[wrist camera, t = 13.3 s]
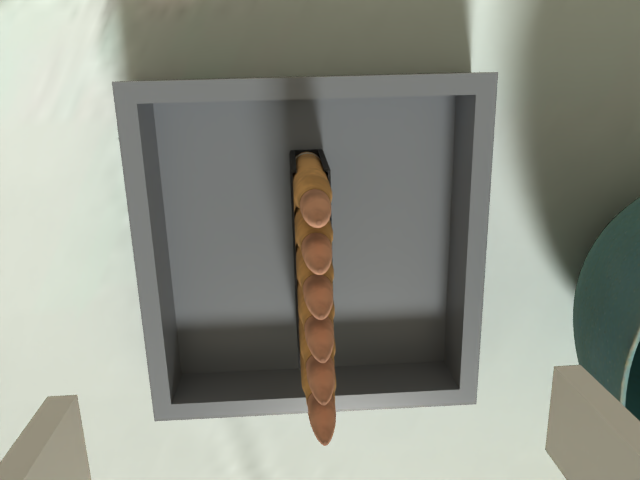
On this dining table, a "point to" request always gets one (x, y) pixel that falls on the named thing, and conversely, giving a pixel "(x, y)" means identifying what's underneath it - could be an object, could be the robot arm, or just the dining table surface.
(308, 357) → the ammunition clip
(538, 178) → the dining table surface
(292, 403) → the tray
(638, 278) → the teal bowl
